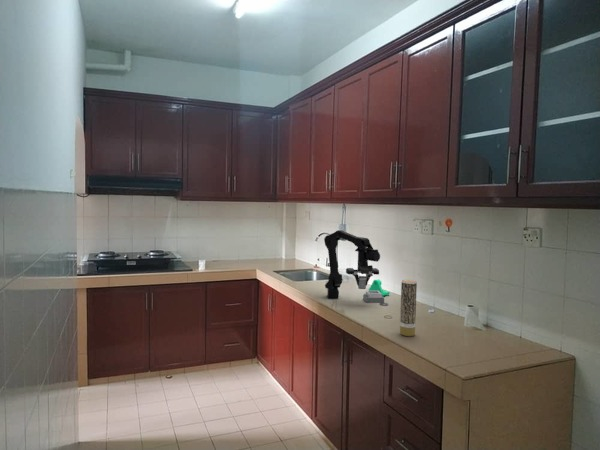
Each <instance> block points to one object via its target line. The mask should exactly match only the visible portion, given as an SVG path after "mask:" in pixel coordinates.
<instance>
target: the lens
mask: <svg viewBox="0 0 600 450" xmlns="http://www.w3.org/2000/svg"><path fill="white" fill-rule="evenodd" d="M358 281H359V286H358V285H357V287H358V290H366V289H367V286H366V275H358Z"/></svg>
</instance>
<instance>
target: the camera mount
mask: <svg viewBox="0 0 600 450" xmlns="http://www.w3.org/2000/svg"><path fill="white" fill-rule="evenodd" d="M368 291H379V292H380V293H382V296H383V297H384V296H390V295H391V294H390V291H387V290H384V289H383V288H382V280H381V279H374V280H373V281H372V283H371V285H370V287H369V289H368Z"/></svg>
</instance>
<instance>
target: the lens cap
mask: <svg viewBox="0 0 600 450" xmlns="http://www.w3.org/2000/svg"><path fill="white" fill-rule="evenodd" d="M379 305H380V306H381V307H388V306H389V303H387V302H384V303H379Z"/></svg>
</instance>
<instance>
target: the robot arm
mask: <svg viewBox="0 0 600 450" xmlns="http://www.w3.org/2000/svg"><path fill="white" fill-rule="evenodd" d="M341 239H343V240H345V241H348V242H351V243H352V244H353V245H354V246H356V249H354V251H355V252H357V269H354V268H353V267H347V268H346V269H345V273H346V274H347V275H352V276H354V279H355V282H356V285H357V287H358V286H359V281H358V277H359V274H361V275H365V276H366V287H367V285H368V283H369V281H370V278H371V277H373V276H374V275H380V270H379V269H378V268H376V267H375V268H374V267H373V265H372V264H371V265H370V264H369V261H371V262H379V261H380V259H381V254H380V252H379V249H374V248H373V246H372V244H371V242H370V239H369V238H367V237H364V236H363V237H362V236H357V235H354V234H351V233H349V232H347V231H344V230H341V229H339V230H336V231H335V232H333V233H331V234H329V235H326V236H324V239H323V241H324V246H325V247H326V249H327V252H328V262H329V263H328V264H329V272H330V273H329V274H328V281H327V282H326V283H325V284H324V287H325V289H327V290H326V291H327V293H326V298H327V299H332V300H333V299H339V297H340V295H339V294H340V291H339V288H340V287H341V285H342V283H343V280H344V279H343V274H342V273H340V272H339V267H338V266H339V265H338V256H337V247H338V243H339V241H340V240H341Z"/></svg>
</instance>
